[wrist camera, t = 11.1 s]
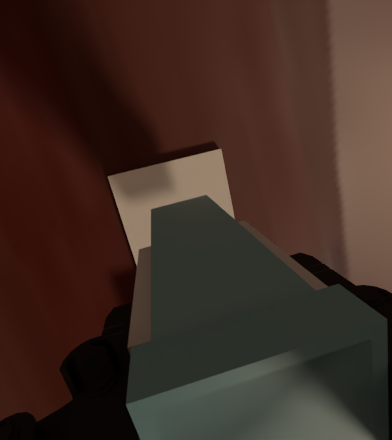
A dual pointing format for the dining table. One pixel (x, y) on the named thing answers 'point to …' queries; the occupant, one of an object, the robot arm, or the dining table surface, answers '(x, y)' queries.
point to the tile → (167, 191)
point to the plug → (250, 342)
